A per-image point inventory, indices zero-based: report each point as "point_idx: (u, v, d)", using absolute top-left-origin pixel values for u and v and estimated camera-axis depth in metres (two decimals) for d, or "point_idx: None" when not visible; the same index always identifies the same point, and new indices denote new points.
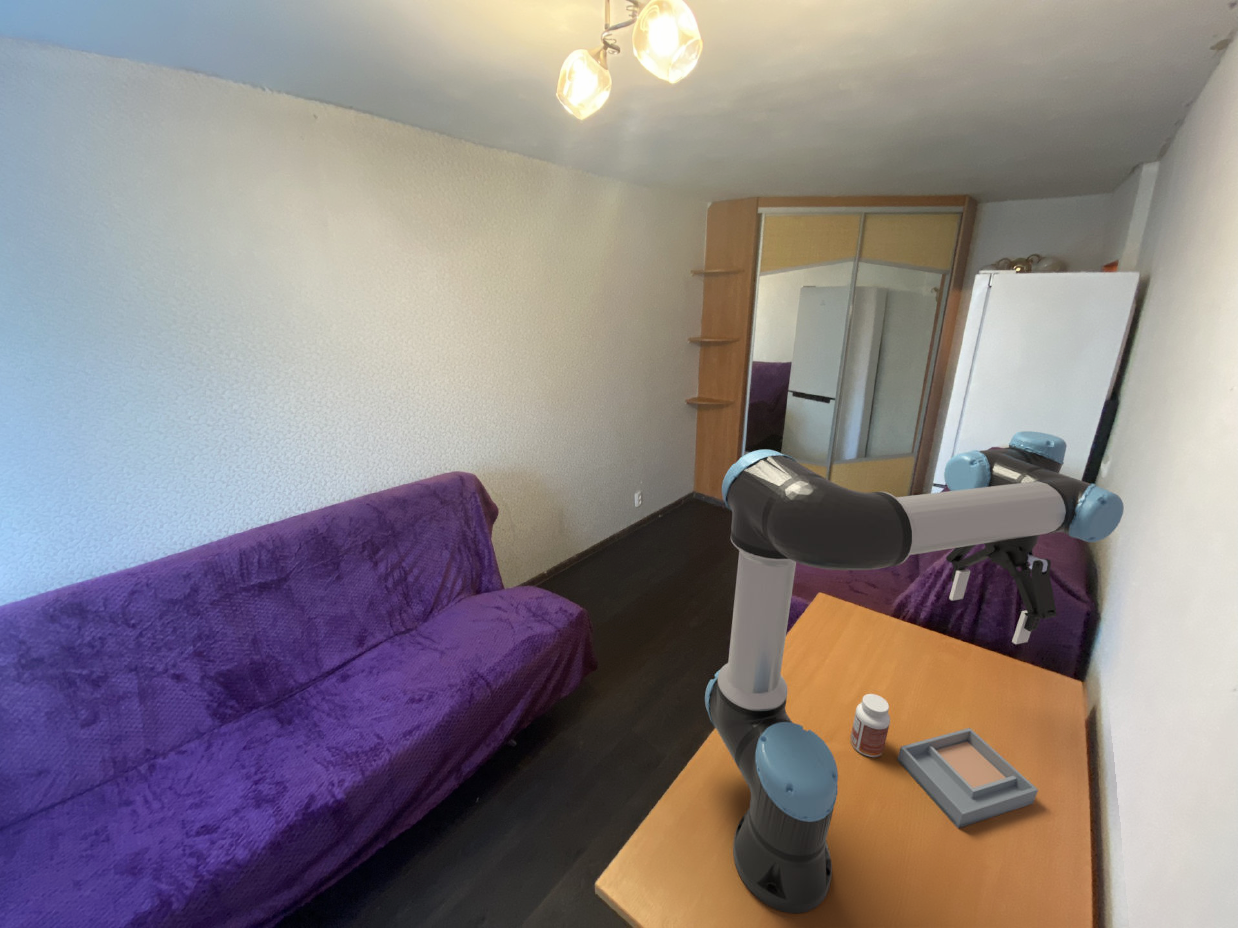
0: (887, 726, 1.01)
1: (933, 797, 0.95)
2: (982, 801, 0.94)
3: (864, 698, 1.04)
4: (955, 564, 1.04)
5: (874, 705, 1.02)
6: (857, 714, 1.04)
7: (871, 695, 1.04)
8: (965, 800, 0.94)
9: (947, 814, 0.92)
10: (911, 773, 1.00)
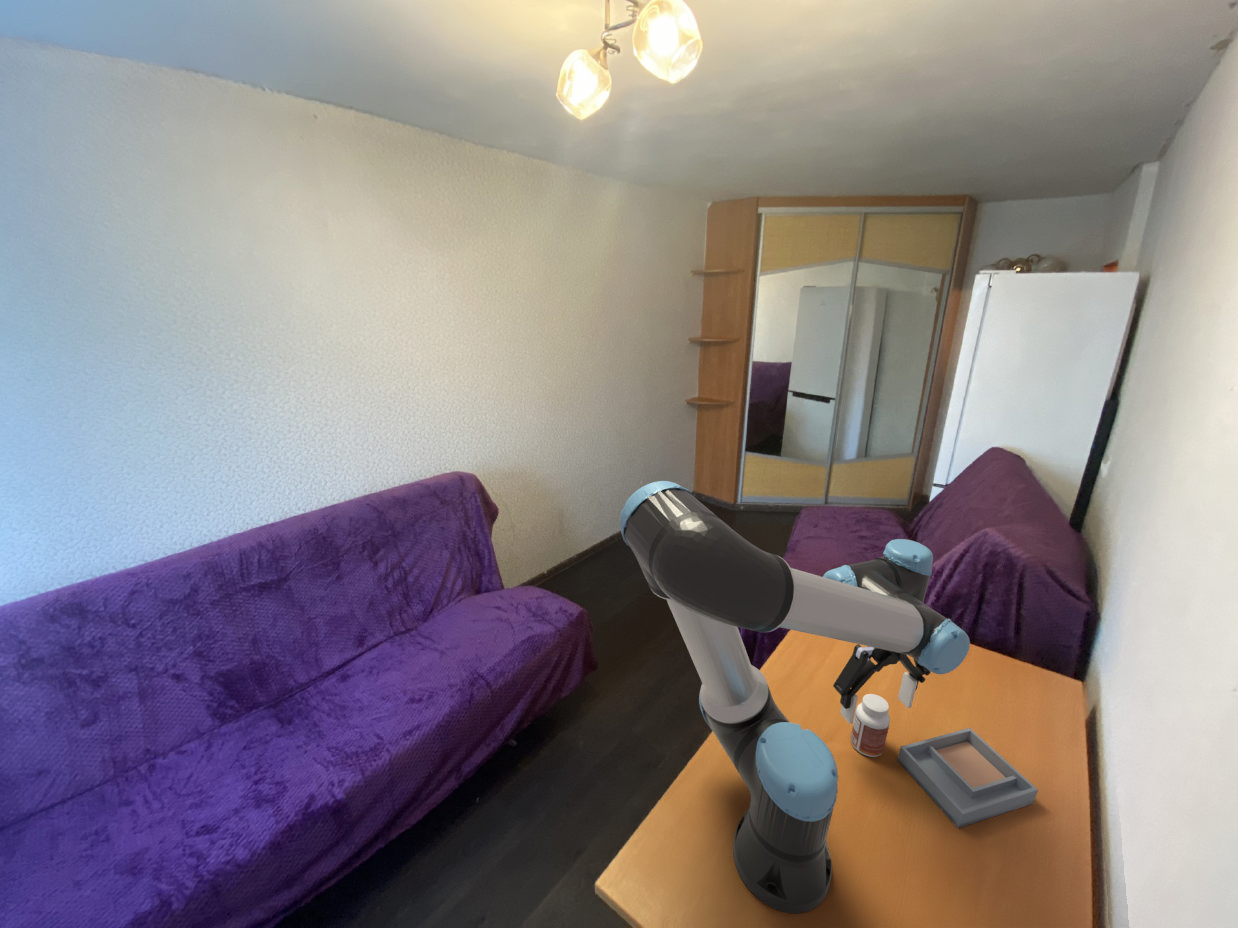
0: (887, 726, 1.01)
1: (933, 797, 0.95)
2: (982, 801, 0.94)
3: (864, 698, 1.04)
4: None
5: (874, 705, 1.02)
6: (857, 714, 1.04)
7: (871, 695, 1.04)
8: (965, 800, 0.94)
9: (947, 814, 0.92)
10: (911, 773, 1.00)
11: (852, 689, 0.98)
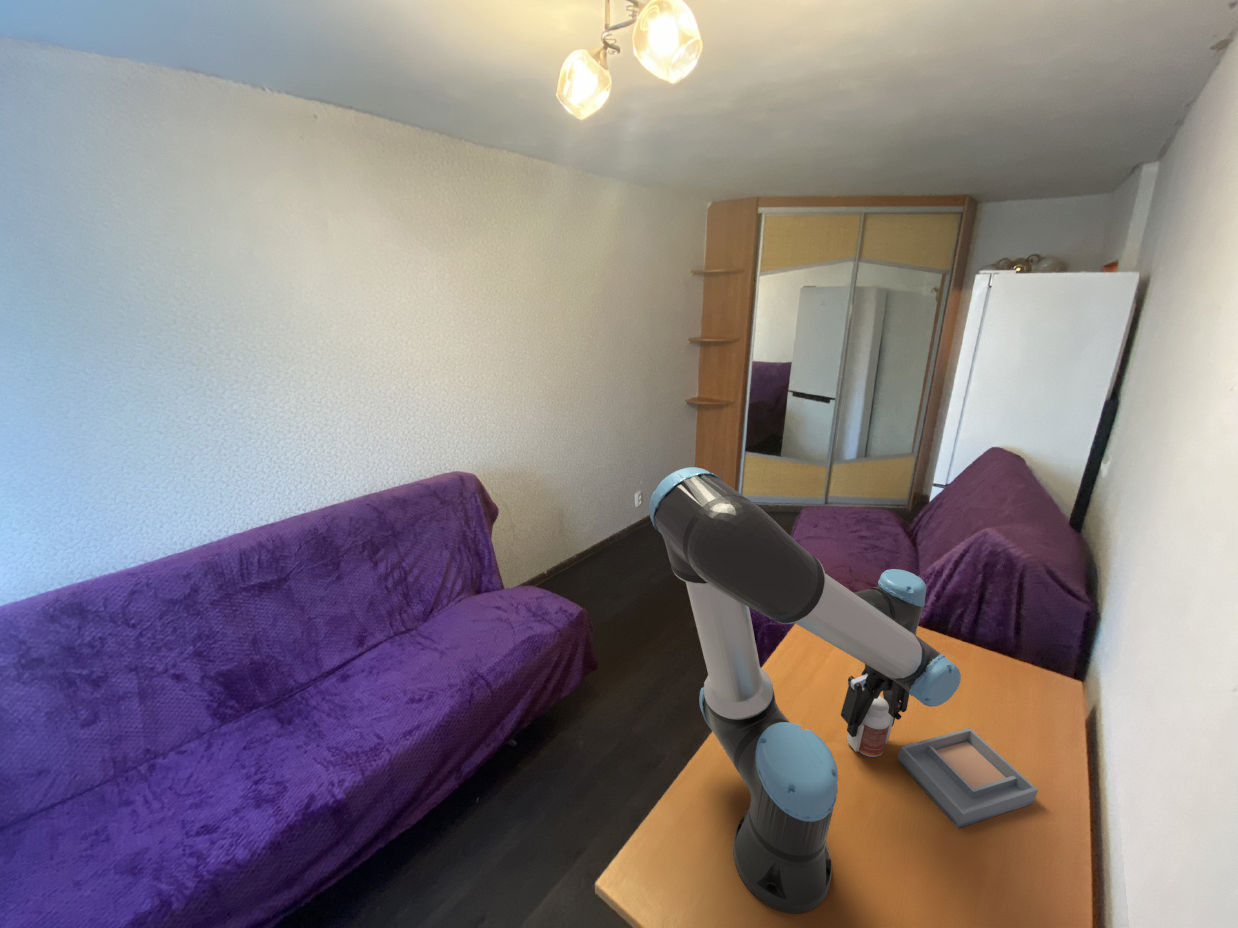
0: (887, 726, 1.01)
1: (933, 797, 0.95)
2: (982, 801, 0.94)
3: None
4: None
5: (874, 705, 1.02)
6: None
7: None
8: (965, 800, 0.94)
9: (947, 814, 0.92)
10: (911, 773, 1.00)
11: (857, 719, 1.01)
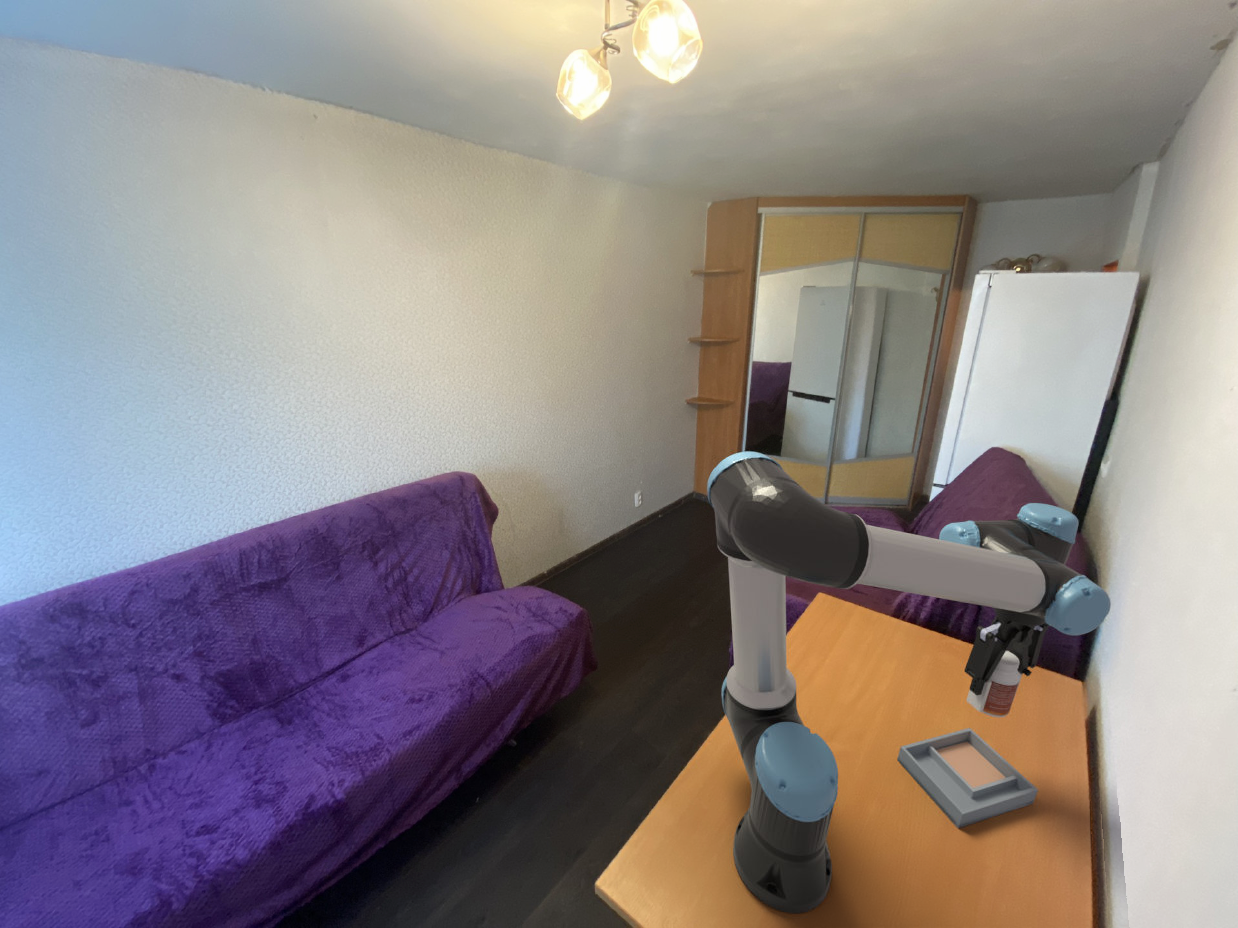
0: (1018, 682, 0.91)
1: (933, 797, 0.95)
2: (982, 801, 0.94)
3: None
4: None
5: (1003, 659, 0.92)
6: None
7: None
8: (965, 800, 0.94)
9: (947, 814, 0.92)
10: (911, 773, 1.00)
11: (985, 674, 0.91)
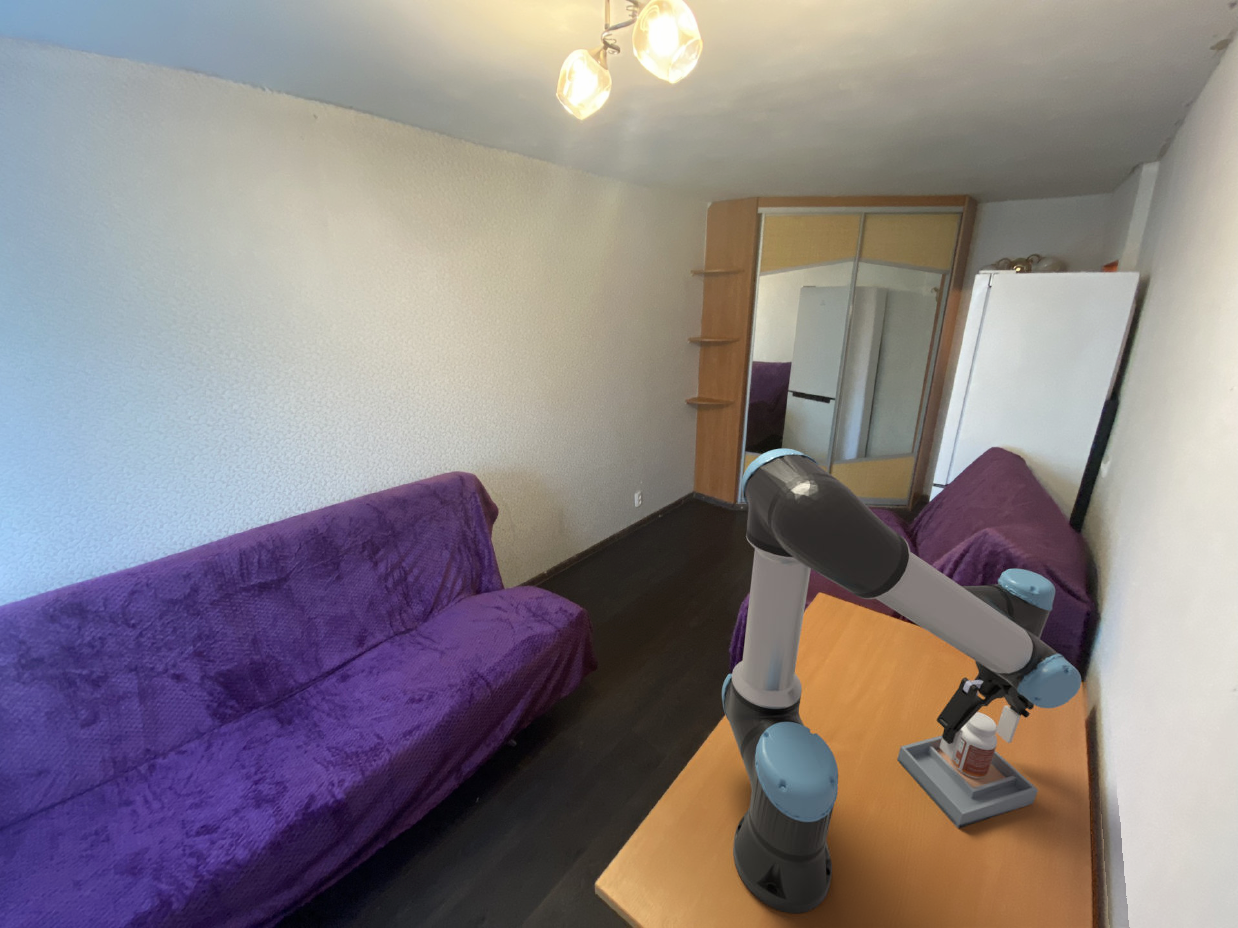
0: (995, 746, 0.96)
1: (933, 797, 0.95)
2: (982, 801, 0.94)
3: None
4: None
5: (981, 724, 0.97)
6: None
7: None
8: (965, 800, 0.94)
9: (947, 814, 0.92)
10: (911, 773, 1.00)
11: (958, 724, 0.94)
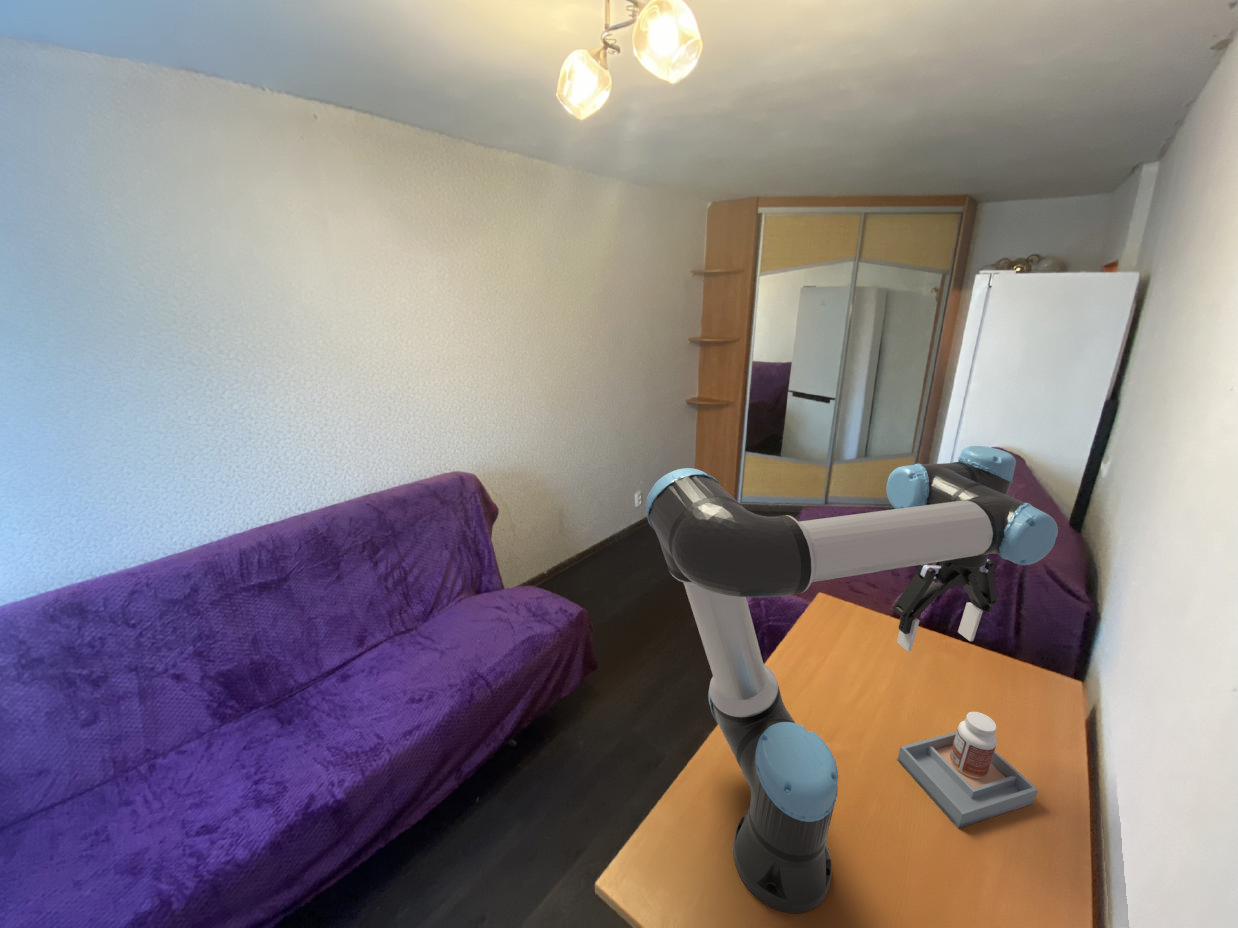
0: (995, 746, 0.96)
1: (933, 797, 0.95)
2: (982, 801, 0.94)
3: (968, 716, 0.98)
4: None
5: (981, 724, 0.97)
6: (960, 733, 0.98)
7: (974, 713, 0.99)
8: (965, 800, 0.94)
9: (947, 814, 0.92)
10: (911, 773, 1.00)
11: (914, 611, 0.90)
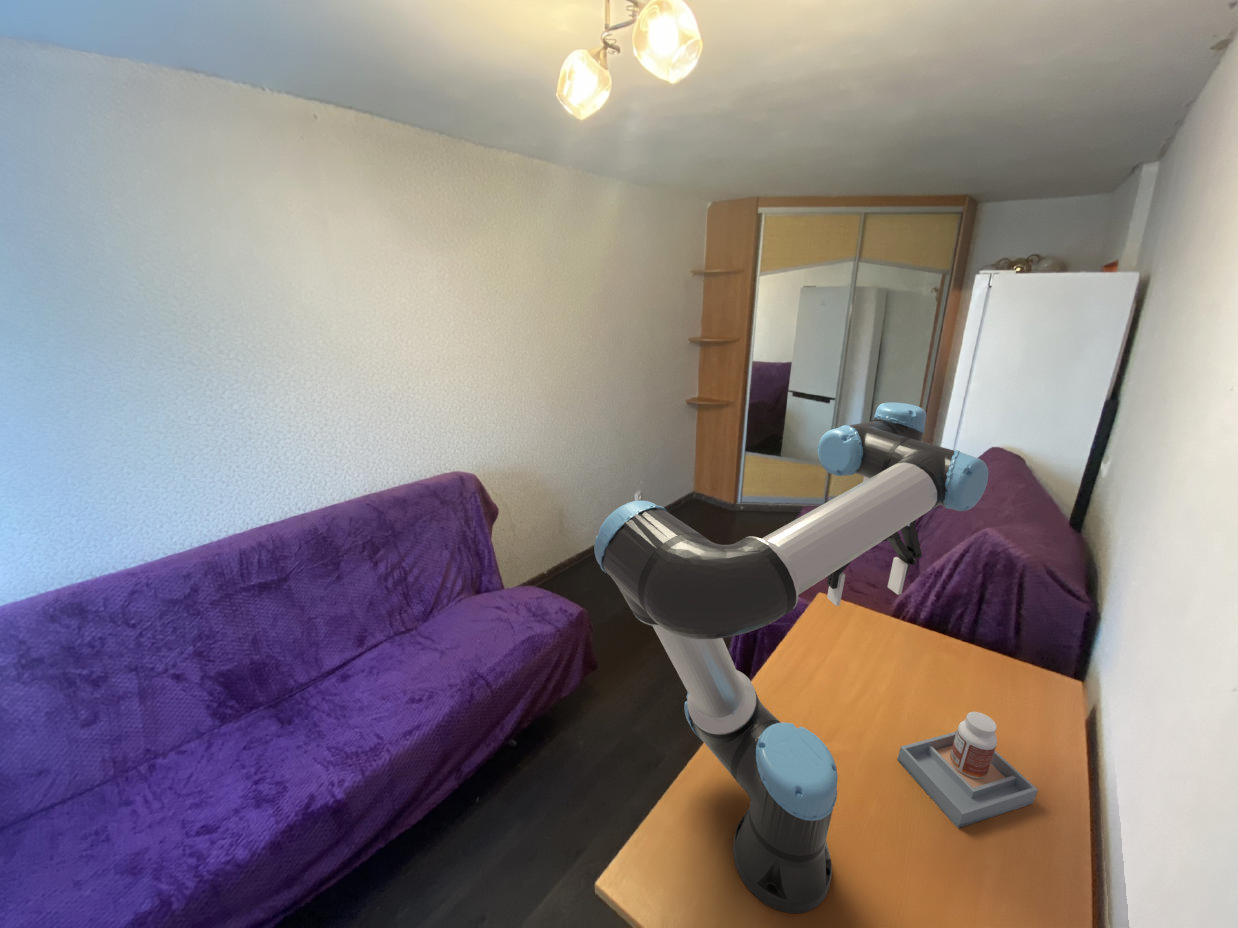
0: (995, 746, 0.96)
1: (933, 797, 0.95)
2: (982, 801, 0.94)
3: (968, 716, 0.98)
4: None
5: (981, 724, 0.97)
6: (961, 733, 0.98)
7: (974, 713, 0.99)
8: (965, 800, 0.94)
9: (947, 814, 0.92)
10: (911, 773, 1.00)
11: None
